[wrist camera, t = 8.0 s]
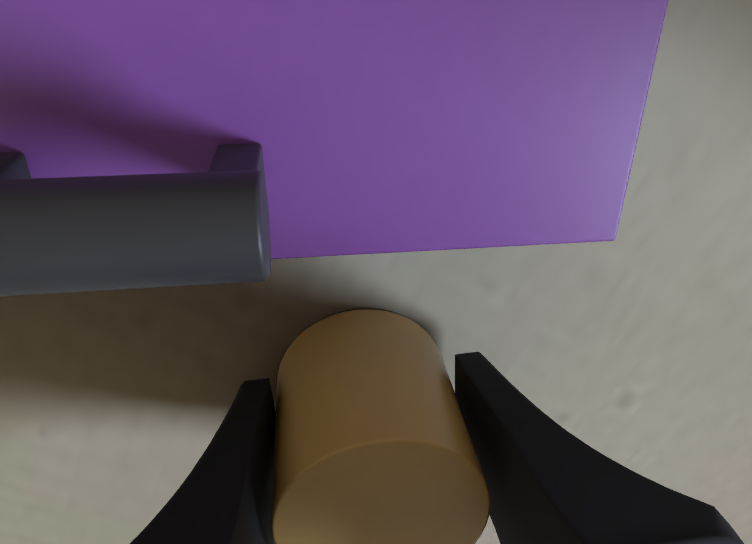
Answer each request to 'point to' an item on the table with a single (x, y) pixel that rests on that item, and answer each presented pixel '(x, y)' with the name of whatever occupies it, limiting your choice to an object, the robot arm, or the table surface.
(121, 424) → the table surface
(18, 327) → the table surface
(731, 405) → the table surface
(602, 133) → the cover
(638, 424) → the table surface
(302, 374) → the cylinder
